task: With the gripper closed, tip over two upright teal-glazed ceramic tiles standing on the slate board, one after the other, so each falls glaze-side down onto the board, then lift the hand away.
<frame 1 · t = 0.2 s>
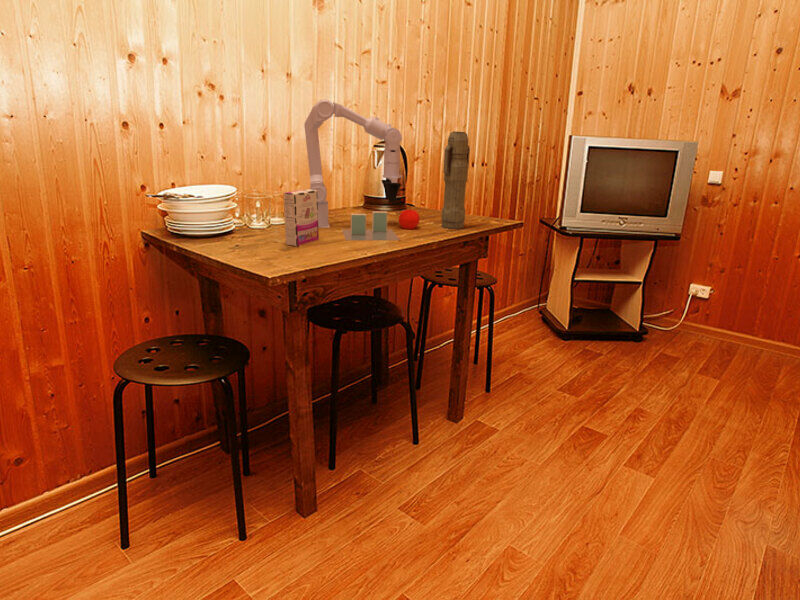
hand: (390, 200, 199), 10 cm above the table, tool pointing down, fingers open, 7 cm apart
candy bar box: (302, 243, 172), on the table
apple: (408, 230, 200), on the table
tile b: (379, 231, 191), point 1 cm above the table, touching slate board
slate board: (369, 236, 185), on the table
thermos: (452, 227, 207), on the table
tile a: (358, 234, 185), point 1 cm above the table, touching slate board
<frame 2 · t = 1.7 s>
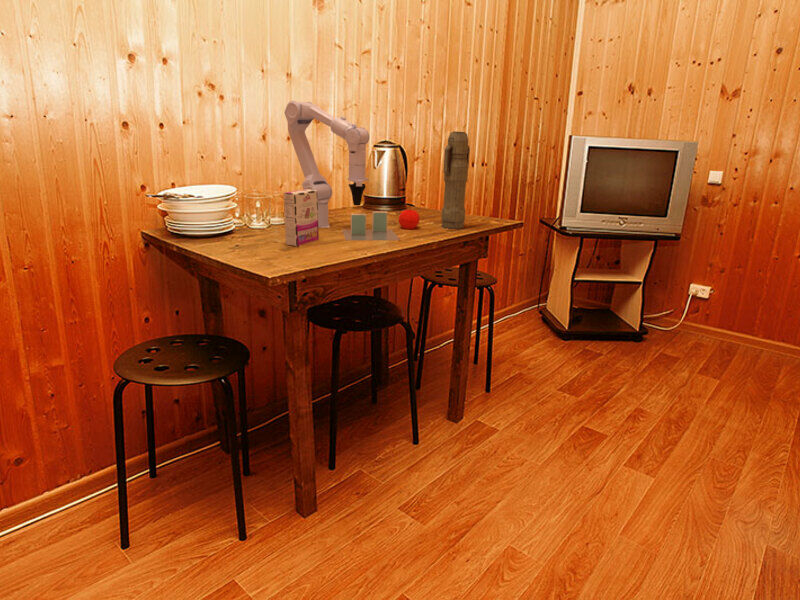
hand: (356, 205, 187), 10 cm above the table, tool pointing down, fingers closed
nothing on the table moved.
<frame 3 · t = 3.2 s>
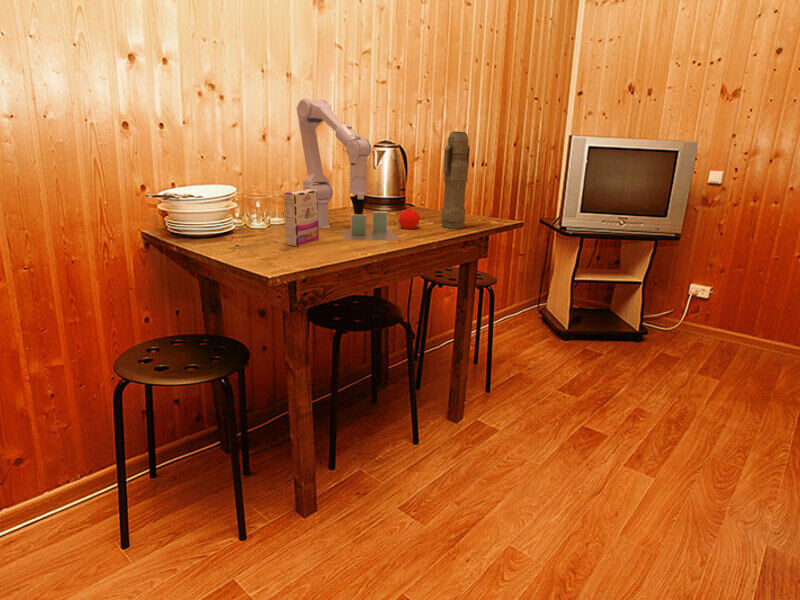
hand: (358, 217, 184), 6 cm above the table, tool pointing down, fingers closed
tile a: (358, 234, 185), point 1 cm above the table, tilted 7°, touching gripper, slate board
everything else where it was.
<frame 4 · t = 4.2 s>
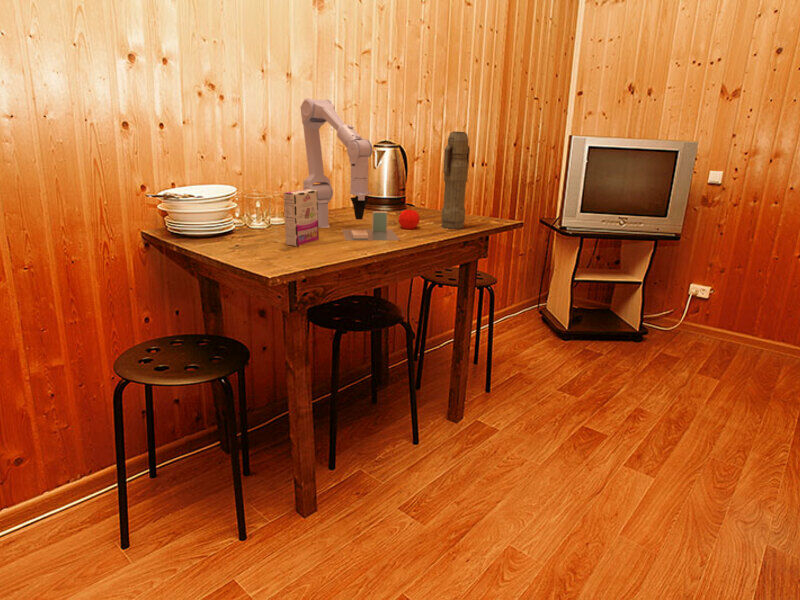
hand: (358, 219, 181), 6 cm above the table, tool pointing down, fingers closed
tile a: (358, 232, 184), point 1 cm above the table, tilted 90°, touching slate board
everything else where it was.
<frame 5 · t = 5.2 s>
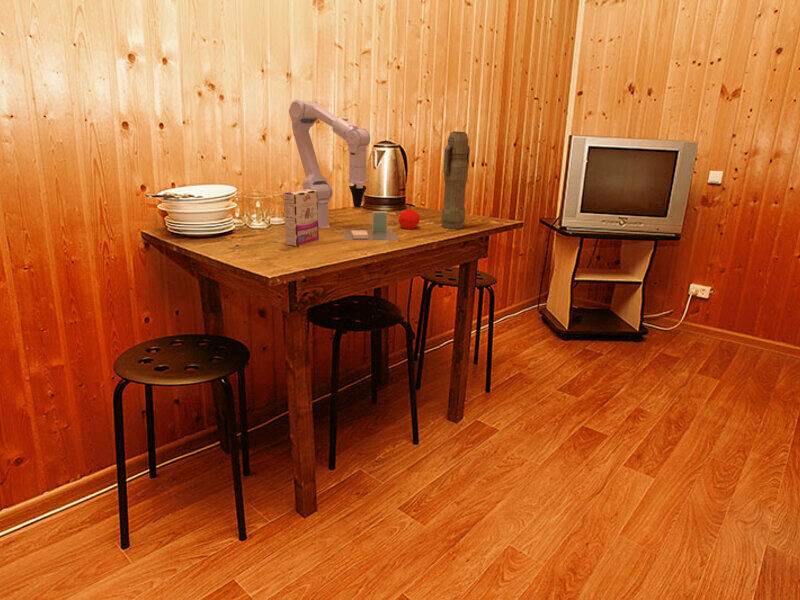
hand: (357, 207, 186), 9 cm above the table, tool pointing down, fingers closed
nothing on the table moved.
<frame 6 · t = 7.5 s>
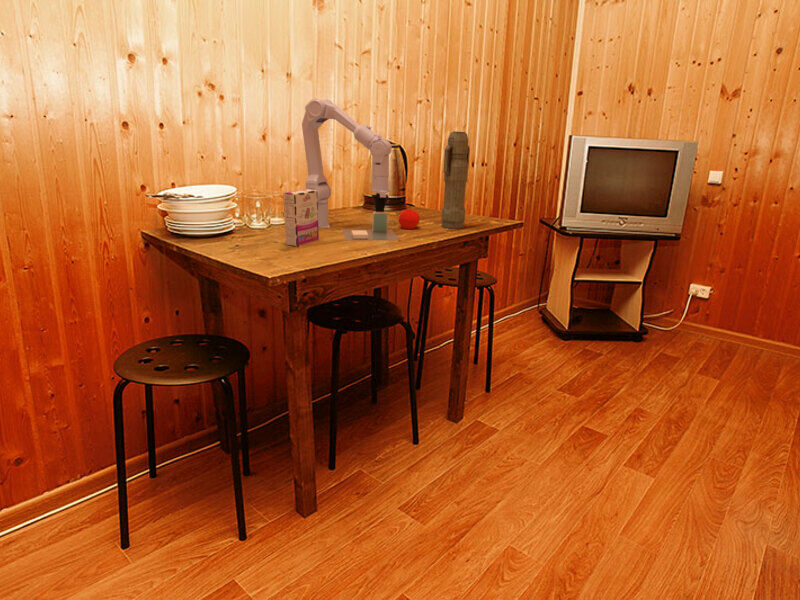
hand: (379, 215, 190), 6 cm above the table, tool pointing down, fingers closed
tile b: (379, 231, 191), point 1 cm above the table, tilted 10°, touching slate board
everything else where it was.
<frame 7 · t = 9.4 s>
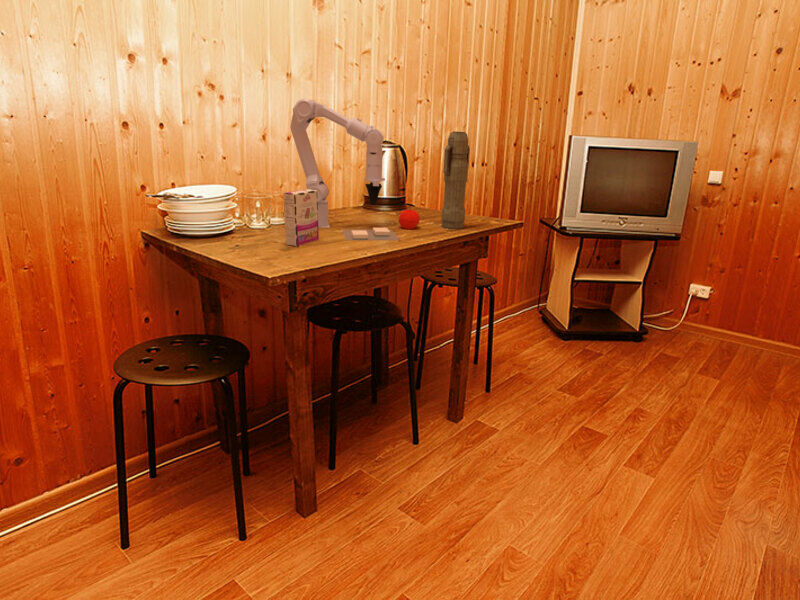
hand: (372, 204, 194), 9 cm above the table, tool pointing down, fingers closed
tile b: (379, 229, 190), point 1 cm above the table, tilted 90°, touching slate board
everything else where it was.
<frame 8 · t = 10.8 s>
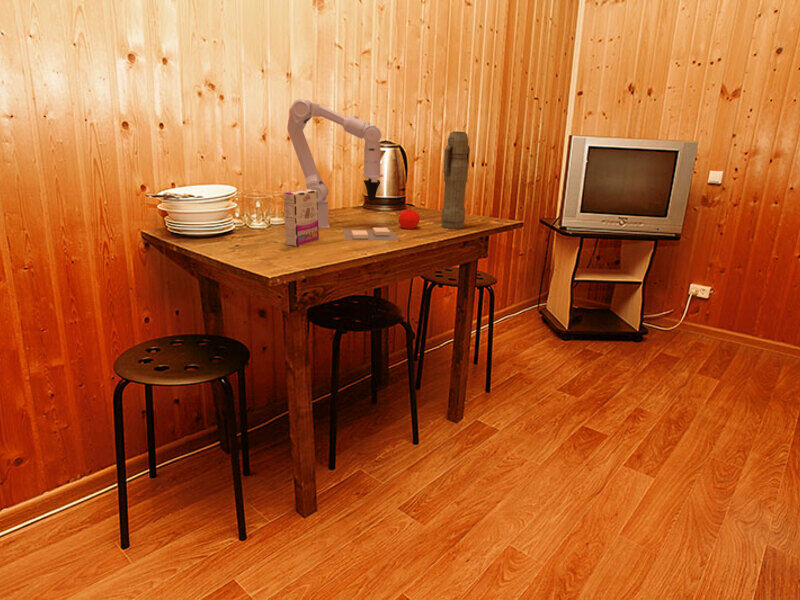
hand: (371, 200, 195), 10 cm above the table, tool pointing down, fingers closed
nothing on the table moved.
at the end: tile a tilted 90°; tile b tilted 90°; tile a inside the target area (2.4 cm from its centre), point 1.4 cm above the table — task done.
